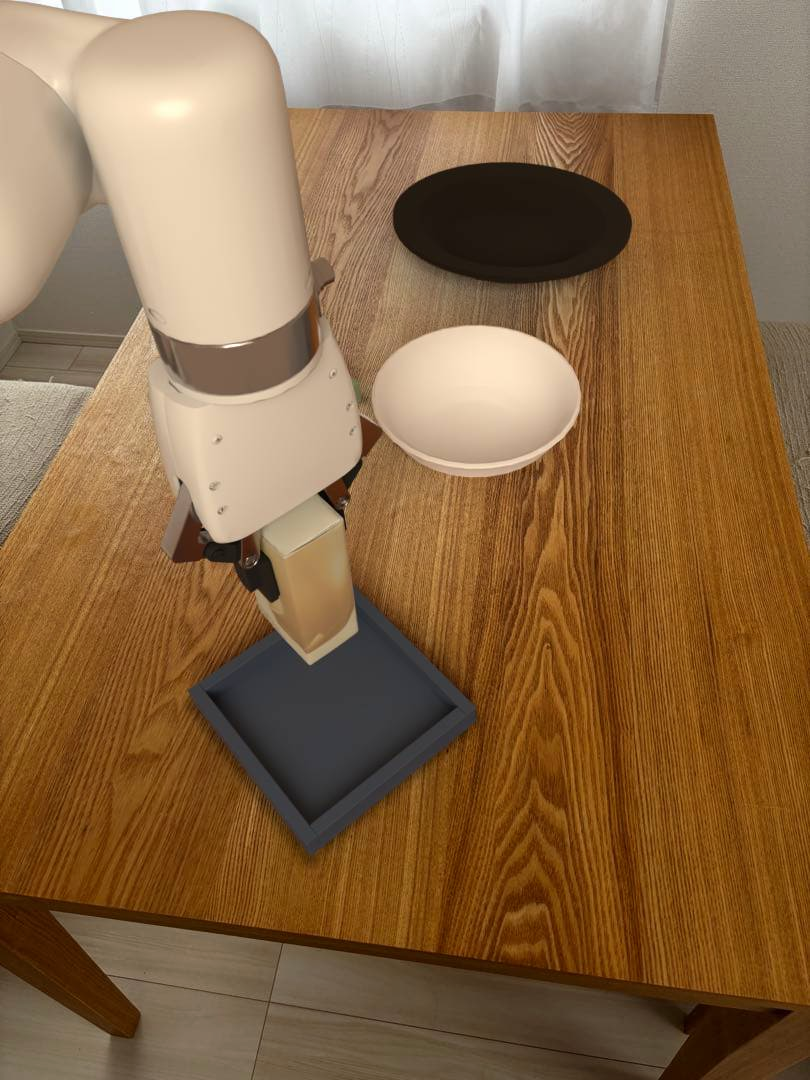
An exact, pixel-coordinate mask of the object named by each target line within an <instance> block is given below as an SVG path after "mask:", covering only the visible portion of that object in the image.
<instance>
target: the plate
mask: <svg viewBox="0 0 810 1080" xmlns="http://www.w3.org/2000/svg"><path fill="white" fill-rule="evenodd" d="M392 225H393V230H394V233H395V235H396V237H397V238H398V240H399V241H400V242H401V244H402V245H403V246H404V247H405V248H406V250H408V251H409V252H410V253H411V254H413V255H414V256H416V257H417V258H418V259H420V260H422V261H423V262H426V263H427V264H429V265H431V266H433V267H436V268H438V269H440V270H444V271H446V272H449V273H452V274H456V275H459V276H462V277H466V278H470V279H473V280H478V281H483V282H488V283H496V284H507V285H510V284H511V285H525V284H526V285H528V284H537V283H546V282H553V281H559V280H563V279H569V278H574V277H576V276H581V275H583V274H587V273H589V272H592V271H594V270H596V269H599V268H601V267H602V266H604V265H606V264H608V263H609V262H611V261H612V260H614V259H615V258H616V257H617V256H618V255H620V254H621V253H622V252H623V251H624V249H625V248H626V246H627V245H628V243H629V240H630V238H631V234H632V228H633V219H632V214H631V213H630V209H629V208H628V206H627V204H626V203H625V201H623V200H622V198H621V197H619V195H618V194H616V193H615V192H614V191H612V190H611V189H610V188H608V187H607V186H605V185H603V184H602V183H601V182H598V181H596V180H594V179H592V178H590V177H587V176H586V175H583V174H579V173H577V172H574V171H571V170H567V169H563V168H560V167H556V166H550V165H546V164H545V165H544V164H537V163H529V162H516V161H492V162H478V163H471V164H465V165H459V166H455V167H451V168H447V169H443V170H440V171H437V172H434V173H432V174H430V175H426V176H425V177H423V178H421V179H419V180H417V181H415V182H414V183H413V184H411V185H410V186H409V187H407V188H406V189H405V190H404V191H403V192H401V194H400V195H399V197H398V198H397V199H396V201H395V204H394V205H393V209H392Z"/></svg>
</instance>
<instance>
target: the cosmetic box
mask: <svg viewBox="0 0 810 1080" xmlns="http://www.w3.org/2000/svg"><path fill="white" fill-rule="evenodd" d="M260 549H261V550H262V551H263V552H264V553H265V554H266V555H267V556H268V557H269V559H270V561H271V563H272V567H273V570H274V574H275V577H276V581H277V584H278V588H279V591H280V596H278V597H279V599H278V600H276V601H275V602H273V603H270V602H269V601H268V600H267V599H266V597H265V596H264V595H263V594H262V593H261V592H260V591H259V590H258V589H257V590H255V591H254V592H253V593H254V596H255V599H256V603H257V606H258V608H259V611H260V612H261V613H262V615H263V616H264V617H265V619H267V621H268V622H269V623H270V624H271V626H272V627H273V629H274V630H277V631H278V632H279V634H280V635H281V636H282V637H283V638H284V639H285V640H286V641H287V642H288V644H289V645H290V646H291V647H292V648H293V649H294V650H295V651H296V652H297V653H298V654H299V655H300V656H301V657H302V658H303V659H304V660H305V661H306V662H307V663H308V664H309V665H312V664H313V663H315V662H316V661H317V660H319V659H320V658H322V657H323V656H325V655H326V654H328V653H329V652H331V651H332V650H334V649H335V648H336V647H338V646H339V645H341V644H342V643H343V642H345V641H346V640H347V639H349V638H350V637H352V636H353V635H354V634H356V633H357V632H358V622H357V615H356V608H355V601H354V593H353V586H352V583H353V579H352V572H351V566H350V557H349V550H348V542H347V535H346V531H345V526H344V520H343V518H342V517H341V516H340V515H339V514H338V513H337V512H336V511H335V510H334V509H333V508H332V507H331V506H330V505H329V504H327V503H326V502H325V501H324V500H323V499H322V498H321V497H320V496H319V495H318V494H317V493H316V494H315V495H313V496H312V497H310V498H309V499H307V500H305V501H304V502H302V503H301V504H299V505H298V506H296V507H294V508H293V509H291V510H290V511H288V512H286V513H285V514H283V515H282V516H280V517H278V518H277V519H275V520H274V521H272V522H270V523H269V524H267V525H265V526H264V527H262V528H261V530H260Z"/></svg>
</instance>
